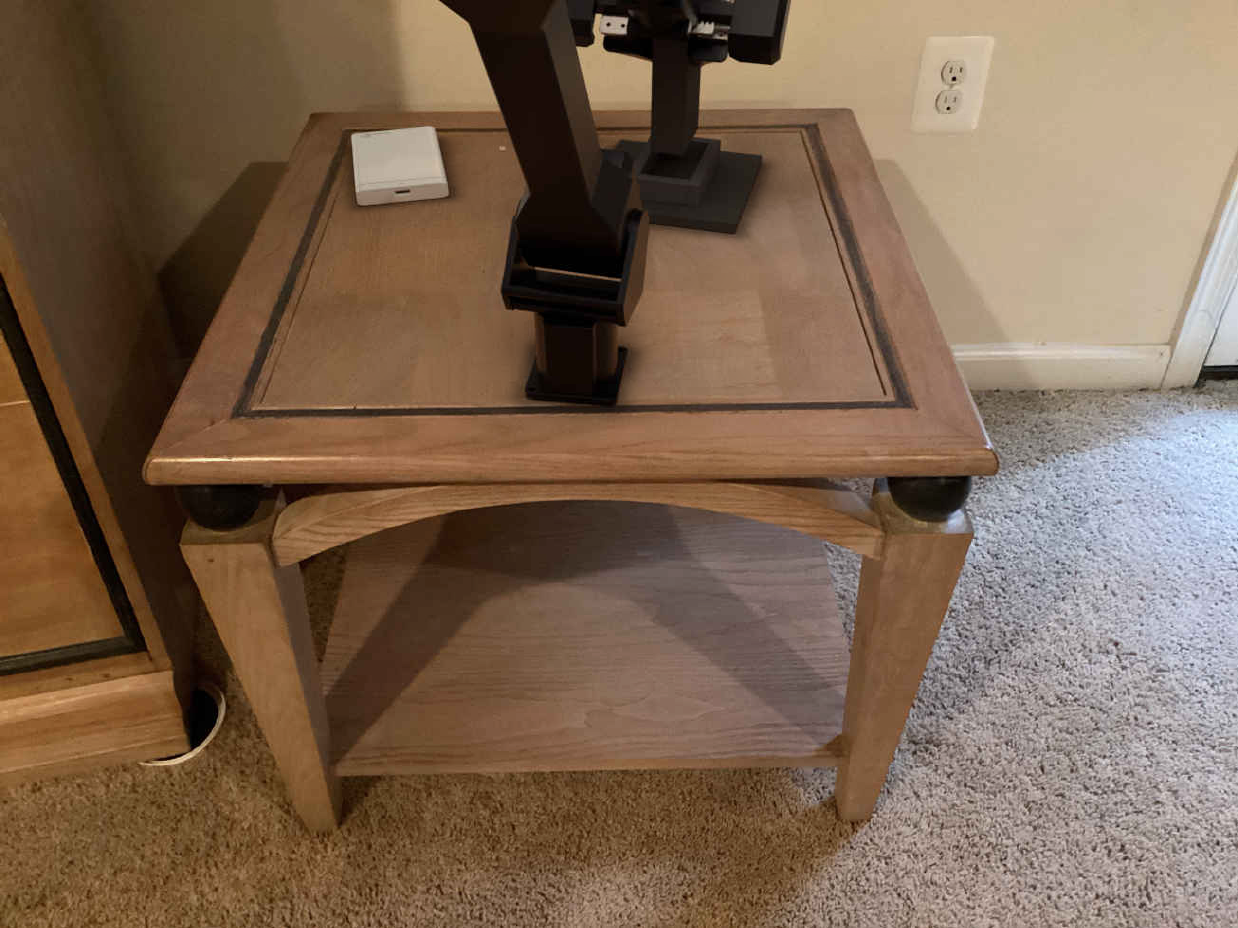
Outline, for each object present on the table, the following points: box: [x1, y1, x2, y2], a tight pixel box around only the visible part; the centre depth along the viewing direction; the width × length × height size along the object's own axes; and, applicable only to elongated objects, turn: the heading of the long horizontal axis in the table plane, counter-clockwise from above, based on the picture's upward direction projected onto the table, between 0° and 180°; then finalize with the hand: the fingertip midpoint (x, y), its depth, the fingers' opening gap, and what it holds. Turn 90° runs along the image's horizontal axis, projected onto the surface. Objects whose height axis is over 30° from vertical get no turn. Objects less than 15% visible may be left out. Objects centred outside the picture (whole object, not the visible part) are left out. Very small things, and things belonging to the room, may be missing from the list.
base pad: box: [613, 135, 763, 235], centre depth 97 cm, size 14×14×3 cm
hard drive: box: [350, 125, 450, 206], centre depth 100 cm, size 2×8×12 cm
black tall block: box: [650, 34, 702, 155], centre depth 91 cm, size 3×6×12 cm, turn 165°
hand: (681, 60), depth 92 cm, fingers closed on black tall block, 3 cm apart
